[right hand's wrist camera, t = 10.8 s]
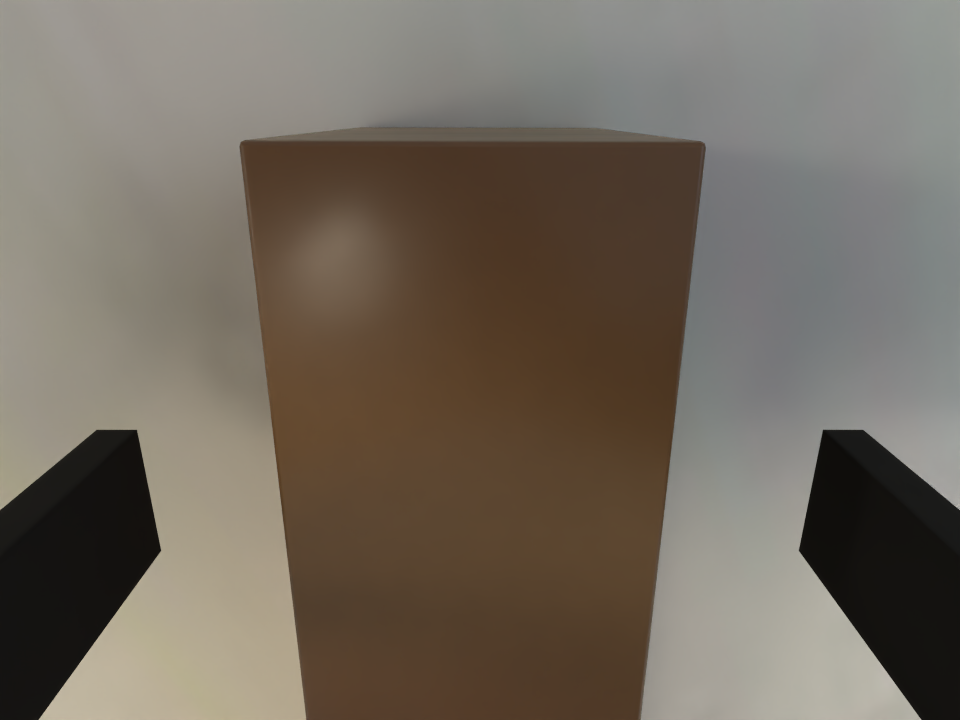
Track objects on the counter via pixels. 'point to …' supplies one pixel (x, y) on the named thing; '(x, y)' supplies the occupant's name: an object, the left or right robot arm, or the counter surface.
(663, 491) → the bar
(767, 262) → the counter surface
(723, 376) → the counter surface
